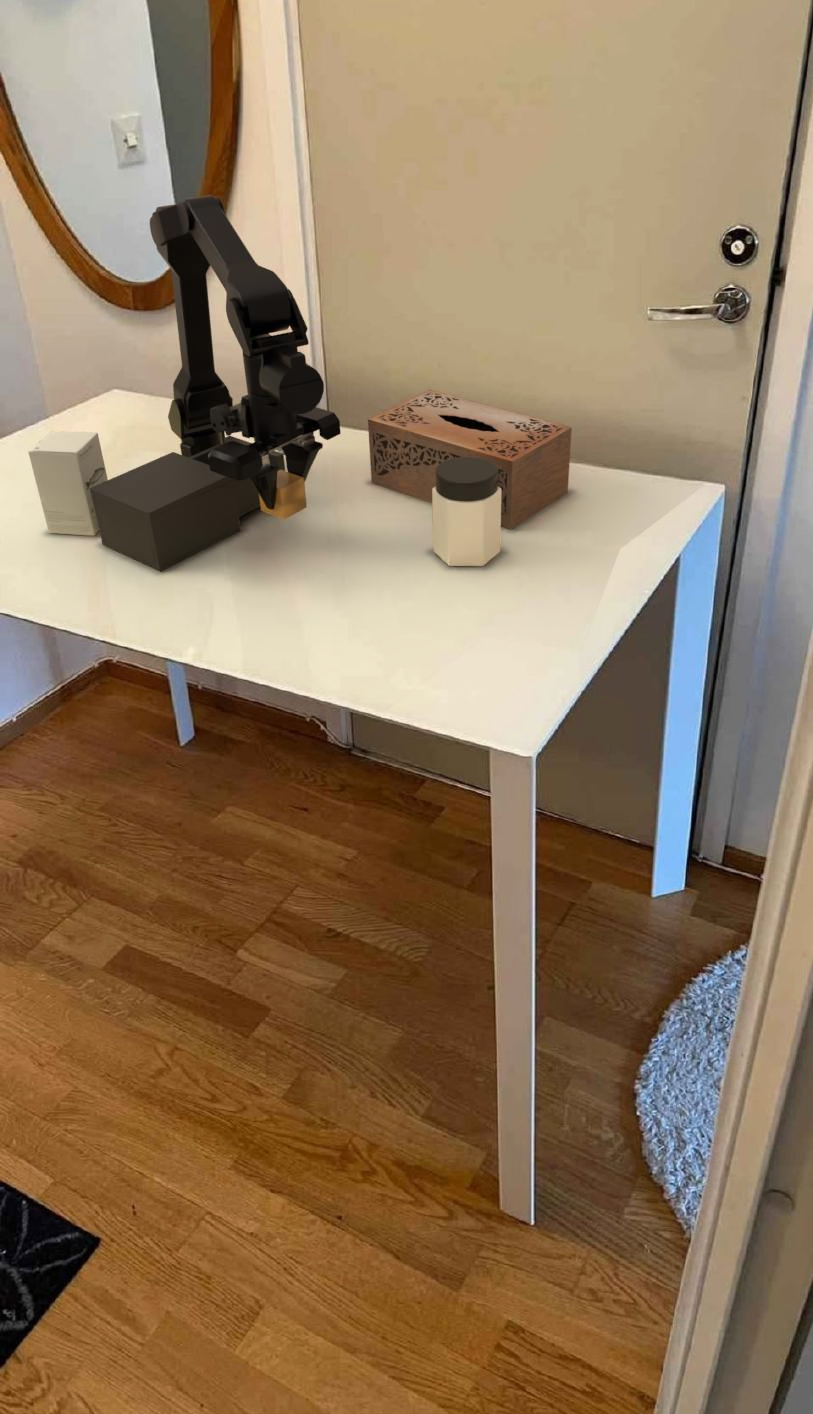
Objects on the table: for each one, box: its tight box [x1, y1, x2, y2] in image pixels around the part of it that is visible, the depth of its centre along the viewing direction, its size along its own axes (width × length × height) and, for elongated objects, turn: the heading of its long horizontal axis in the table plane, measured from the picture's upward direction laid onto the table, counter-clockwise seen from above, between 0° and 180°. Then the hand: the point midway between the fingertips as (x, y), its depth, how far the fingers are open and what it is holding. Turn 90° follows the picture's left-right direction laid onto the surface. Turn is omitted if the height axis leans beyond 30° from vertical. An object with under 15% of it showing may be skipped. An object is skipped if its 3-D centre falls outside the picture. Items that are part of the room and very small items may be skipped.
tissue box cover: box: [367, 389, 573, 530], centre depth 157 cm, size 26×14×10 cm, turn 50°
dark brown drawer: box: [189, 435, 286, 518], centre depth 155 cm, size 18×11×7 cm, turn 140°
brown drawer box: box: [90, 451, 242, 572], centre depth 148 cm, size 15×13×9 cm
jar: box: [431, 457, 502, 567], centre depth 140 cm, size 9×8×12 cm
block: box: [259, 470, 308, 521], centre depth 142 cm, size 4×4×4 cm
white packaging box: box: [27, 430, 109, 537], centre depth 151 cm, size 7×7×13 cm
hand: (283, 502), depth 143 cm, fingers closed on block, 4 cm apart
